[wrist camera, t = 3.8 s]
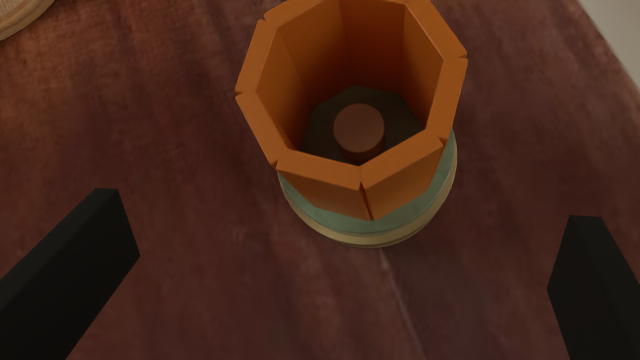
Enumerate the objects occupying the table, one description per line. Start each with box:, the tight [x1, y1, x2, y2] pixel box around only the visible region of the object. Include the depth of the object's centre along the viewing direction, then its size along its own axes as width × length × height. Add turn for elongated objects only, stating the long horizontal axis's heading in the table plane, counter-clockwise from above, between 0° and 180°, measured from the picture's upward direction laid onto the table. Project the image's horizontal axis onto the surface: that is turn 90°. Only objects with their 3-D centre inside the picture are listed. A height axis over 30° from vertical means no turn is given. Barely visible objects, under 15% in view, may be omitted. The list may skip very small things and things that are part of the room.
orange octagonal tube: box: [235, 0, 468, 222], centre depth 19 cm, size 8×8×8 cm
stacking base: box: [277, 85, 457, 249], centre depth 25 cm, size 10×10×8 cm
